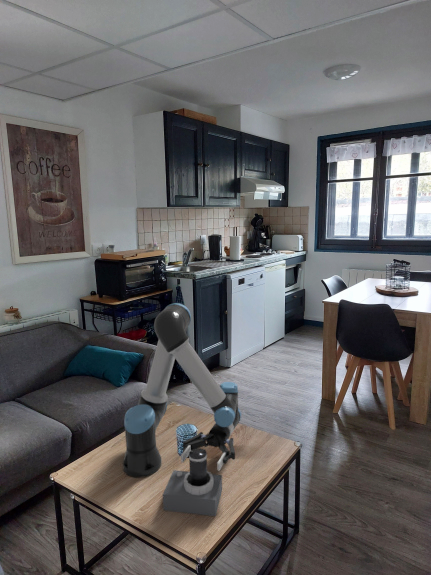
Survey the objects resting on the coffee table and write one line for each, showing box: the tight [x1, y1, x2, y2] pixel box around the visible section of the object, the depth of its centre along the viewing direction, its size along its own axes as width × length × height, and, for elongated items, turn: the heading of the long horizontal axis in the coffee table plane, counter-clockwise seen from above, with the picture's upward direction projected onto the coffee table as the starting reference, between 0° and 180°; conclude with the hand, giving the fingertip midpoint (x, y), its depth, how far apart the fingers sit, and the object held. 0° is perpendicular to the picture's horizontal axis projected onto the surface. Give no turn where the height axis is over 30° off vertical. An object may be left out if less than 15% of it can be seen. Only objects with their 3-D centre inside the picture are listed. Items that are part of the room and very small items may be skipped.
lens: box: [188, 447, 208, 486], centre depth 136 cm, size 6×6×12 cm
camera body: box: [162, 469, 223, 517], centre depth 138 cm, size 18×13×8 cm
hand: (199, 462), depth 136 cm, fingers open, 13 cm apart
